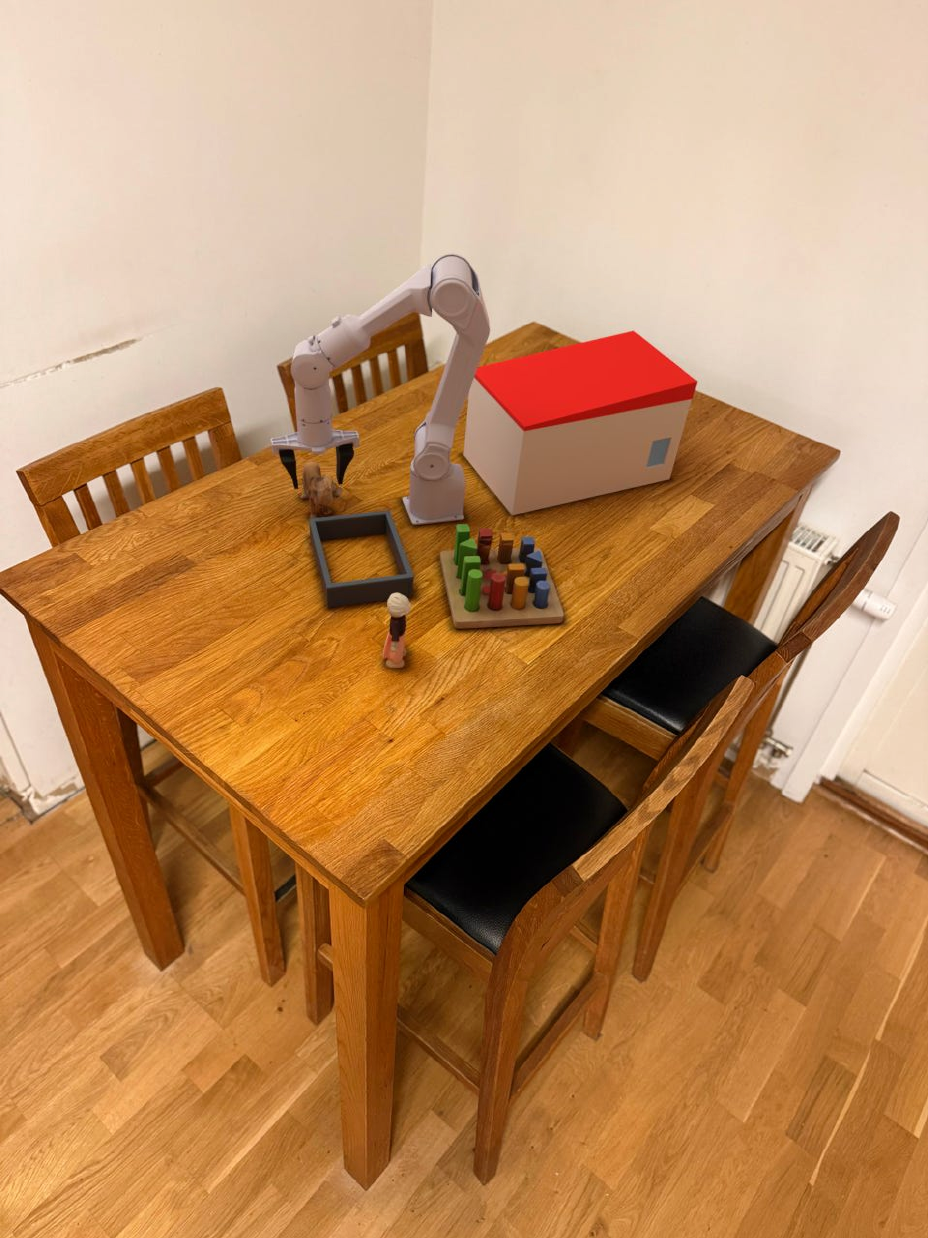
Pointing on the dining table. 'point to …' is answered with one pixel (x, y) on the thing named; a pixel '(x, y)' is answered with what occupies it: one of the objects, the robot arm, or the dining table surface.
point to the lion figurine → (318, 489)
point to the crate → (368, 587)
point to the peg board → (498, 582)
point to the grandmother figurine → (396, 630)
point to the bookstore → (576, 421)
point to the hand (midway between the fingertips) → (317, 483)
